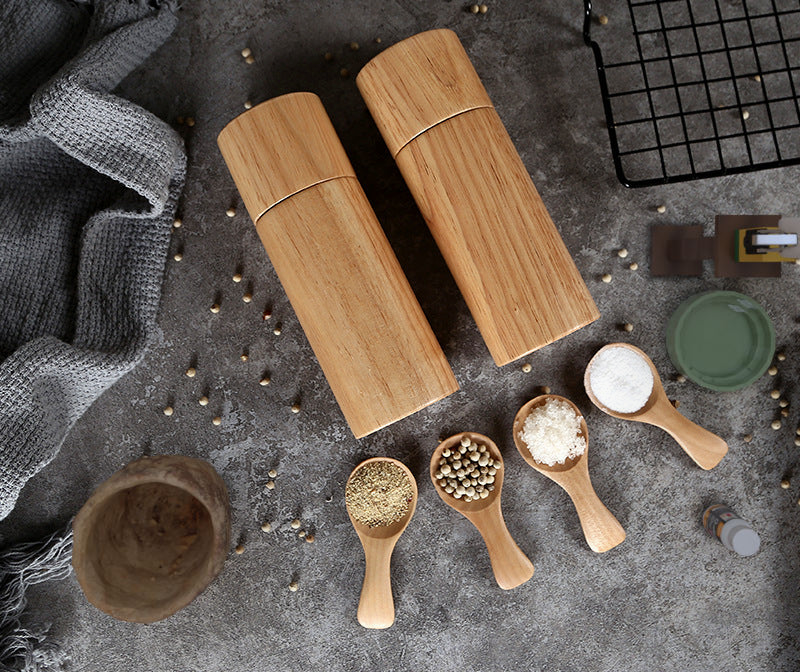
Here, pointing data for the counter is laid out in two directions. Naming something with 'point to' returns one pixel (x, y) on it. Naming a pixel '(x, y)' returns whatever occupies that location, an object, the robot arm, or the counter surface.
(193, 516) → the brown pot
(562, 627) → the counter surface
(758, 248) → the robot arm
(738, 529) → the pill bottle
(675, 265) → the stand
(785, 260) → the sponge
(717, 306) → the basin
